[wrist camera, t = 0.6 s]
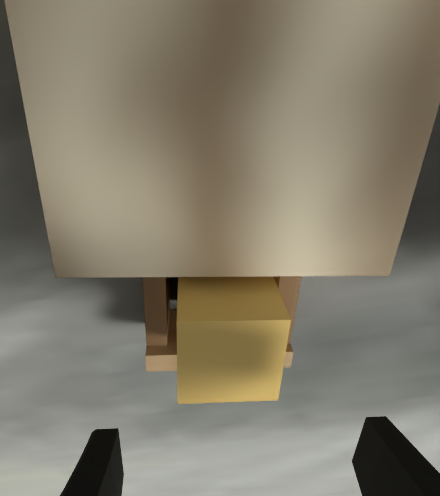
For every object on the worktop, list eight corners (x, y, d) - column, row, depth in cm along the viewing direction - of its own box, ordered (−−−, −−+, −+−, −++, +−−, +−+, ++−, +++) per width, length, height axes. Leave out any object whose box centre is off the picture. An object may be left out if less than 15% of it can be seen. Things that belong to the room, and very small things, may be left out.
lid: (548, -348, 8) (747, -573, 5) (380, 265, 15) (426, 313, 13) (-62, -451, 7) (-236, -813, 4) (62, 266, 14) (29, 319, 11)
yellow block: (256, 236, 19) (291, 319, 13) (250, 299, 21) (278, 400, 15) (179, 235, 19) (176, 321, 12) (180, 300, 21) (177, 403, 14)
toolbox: (436, -220, 12) (540, -339, 8) (322, 321, 22) (348, 371, 18) (23, -273, 11) (-56, -438, 7) (100, 325, 21) (83, 379, 17)
